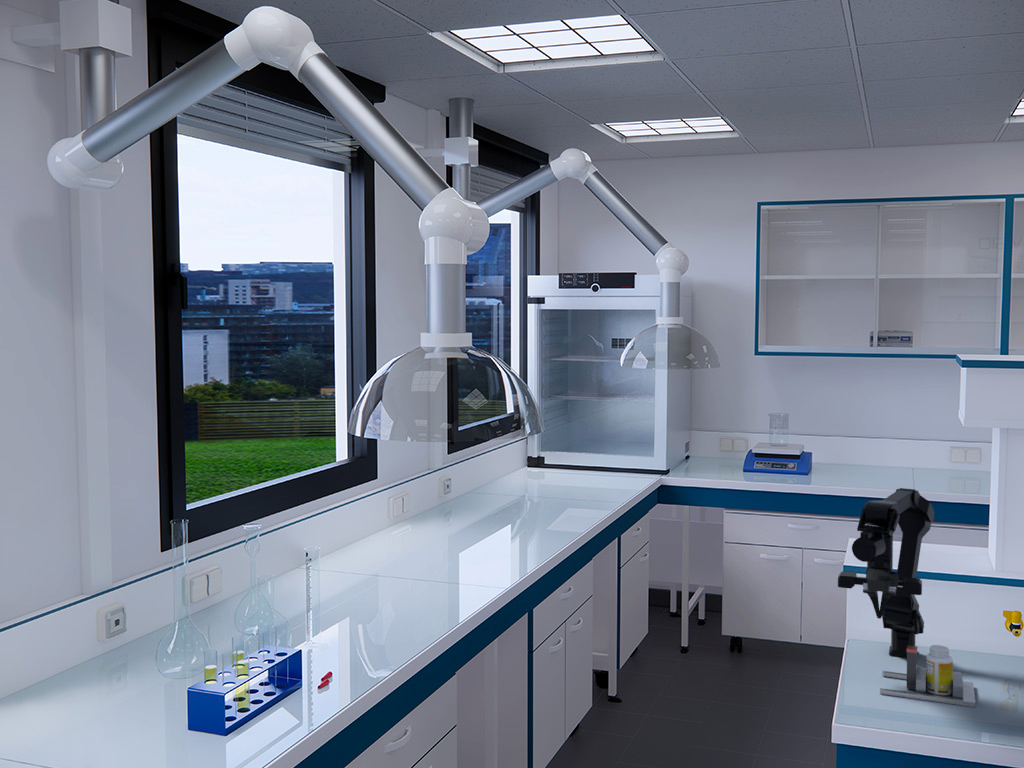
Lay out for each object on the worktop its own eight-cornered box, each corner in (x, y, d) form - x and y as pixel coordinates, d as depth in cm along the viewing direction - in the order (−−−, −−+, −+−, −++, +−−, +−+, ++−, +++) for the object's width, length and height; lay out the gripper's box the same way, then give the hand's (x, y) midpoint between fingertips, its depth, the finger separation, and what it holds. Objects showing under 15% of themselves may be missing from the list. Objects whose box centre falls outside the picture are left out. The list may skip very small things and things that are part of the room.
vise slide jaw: (906, 680, 218) (907, 641, 218) (925, 682, 216) (926, 643, 216) (905, 693, 210) (906, 653, 209) (925, 696, 208) (926, 655, 208)
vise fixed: (882, 674, 222) (882, 660, 222) (973, 686, 214) (973, 671, 214) (879, 693, 210) (880, 678, 210) (975, 707, 202) (975, 691, 202)
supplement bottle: (955, 691, 211) (956, 647, 211) (947, 698, 207) (948, 653, 207) (930, 685, 215) (930, 642, 215) (922, 692, 211) (922, 648, 210)
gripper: (835, 557, 220) (835, 622, 221) (921, 565, 212) (921, 632, 213) (840, 548, 230) (839, 610, 231) (922, 554, 222) (921, 619, 223)
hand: (879, 618), depth 224 cm, fingers closed
